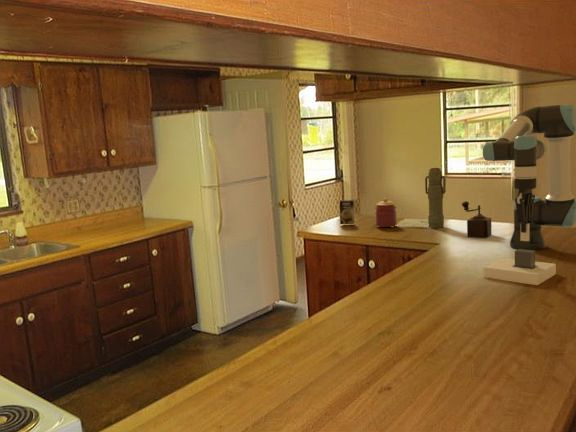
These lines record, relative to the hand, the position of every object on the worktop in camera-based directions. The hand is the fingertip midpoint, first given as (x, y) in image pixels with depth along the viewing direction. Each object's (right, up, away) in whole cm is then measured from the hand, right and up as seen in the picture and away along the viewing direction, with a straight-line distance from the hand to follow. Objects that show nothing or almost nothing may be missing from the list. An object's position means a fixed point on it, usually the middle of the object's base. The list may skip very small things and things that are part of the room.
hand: (524, 240), depth 198 cm
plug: (+1, -14, +2) cm, 14 cm away
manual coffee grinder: (+11, -2, +84) cm, 85 cm away
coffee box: (-51, +3, +141) cm, 150 cm away
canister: (-28, +3, +128) cm, 131 cm away
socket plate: (-1, -14, +4) cm, 14 cm away
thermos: (-1, +2, +116) cm, 116 cm away
